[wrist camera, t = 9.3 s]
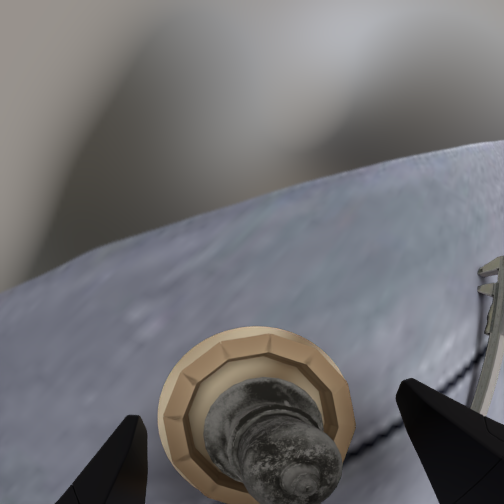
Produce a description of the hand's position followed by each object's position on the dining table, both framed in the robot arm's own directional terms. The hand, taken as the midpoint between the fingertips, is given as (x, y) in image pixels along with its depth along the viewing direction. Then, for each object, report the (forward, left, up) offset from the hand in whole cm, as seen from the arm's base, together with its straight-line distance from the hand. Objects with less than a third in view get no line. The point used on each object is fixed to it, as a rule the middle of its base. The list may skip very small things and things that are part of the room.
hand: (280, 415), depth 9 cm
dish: (-1, +1, -10) cm, 10 cm away
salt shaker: (-1, +1, -9) cm, 9 cm away
